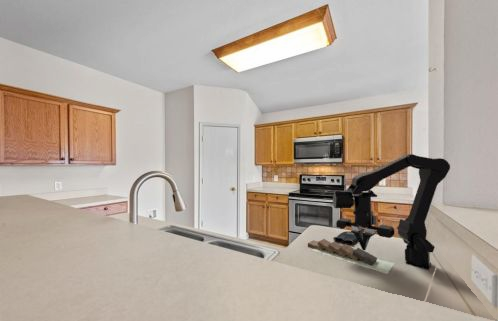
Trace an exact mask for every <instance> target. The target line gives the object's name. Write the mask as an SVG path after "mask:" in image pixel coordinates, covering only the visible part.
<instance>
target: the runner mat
mask: <svg viewBox="0 0 498 321" xmlns="http://www.w3.org/2000/svg"><path fill="white" fill-rule="evenodd" d="M311 251H313V252H316V253H320V254H323V255H325V256H329V257H332V258H334V259H338V260H342V261H345V262H349V263H351V264H354V265H357V266H360V267H364V268H367V269H370V270H374V271H376V272H380V273H381V274H385V275H388V273H389V272H390V270H391V269H392V268H393V267H394V265H395V263H394V262H390V261H387V260H384V259H379V258H377V260H376V262H375V263H374V264H373V265H372V266H371V265H370V264H368V263H366V262H364V261H363V260H361V259H359V260H358V261H356V260H354V259H352V258H351V257H349V256H346V257H343V256H341V255H340V254H338V253H336V252H335V253H334V254H332V253H331V252H329V251H327V250H326V249H324V250H323V251H322V250H318V249H315V248H312V249H311Z"/></svg>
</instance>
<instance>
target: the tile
mask: <svg viewBox="0 0 498 321" xmlns="http://www.w3.org/2000/svg"><path fill="white" fill-rule="evenodd" d="M352 255H354V256H355V257H357V258H359V259H361V260H363V261H364V262H366V263H368V264H370V265H371V266H372V265H373V264H374V263H375V262H376V260H377V259H378V257H376V256H375V255H373V254H371V253H369V252H367V251H366V250H363V249H362V248H361V247H360V248H359V247H357V248H356V249H355V250H354V251H353V254H352Z"/></svg>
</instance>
